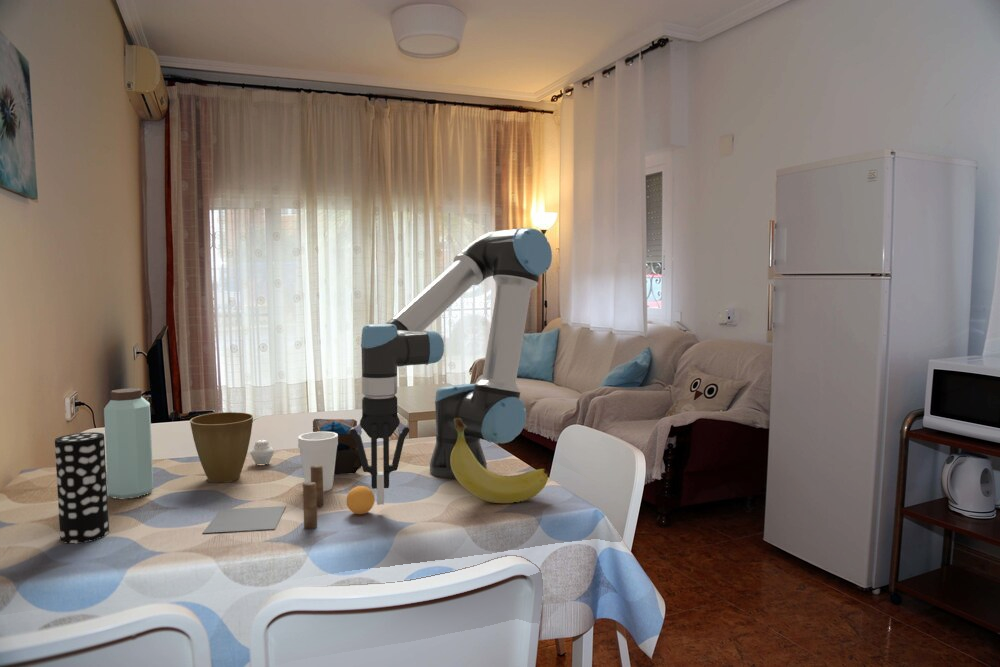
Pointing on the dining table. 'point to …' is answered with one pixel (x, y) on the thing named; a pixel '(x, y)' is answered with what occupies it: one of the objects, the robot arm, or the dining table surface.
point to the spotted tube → (81, 487)
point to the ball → (360, 500)
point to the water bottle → (128, 444)
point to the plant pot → (222, 443)
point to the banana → (492, 476)
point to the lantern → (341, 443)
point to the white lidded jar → (262, 452)
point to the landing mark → (245, 519)
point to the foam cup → (319, 455)
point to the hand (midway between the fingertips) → (380, 502)
